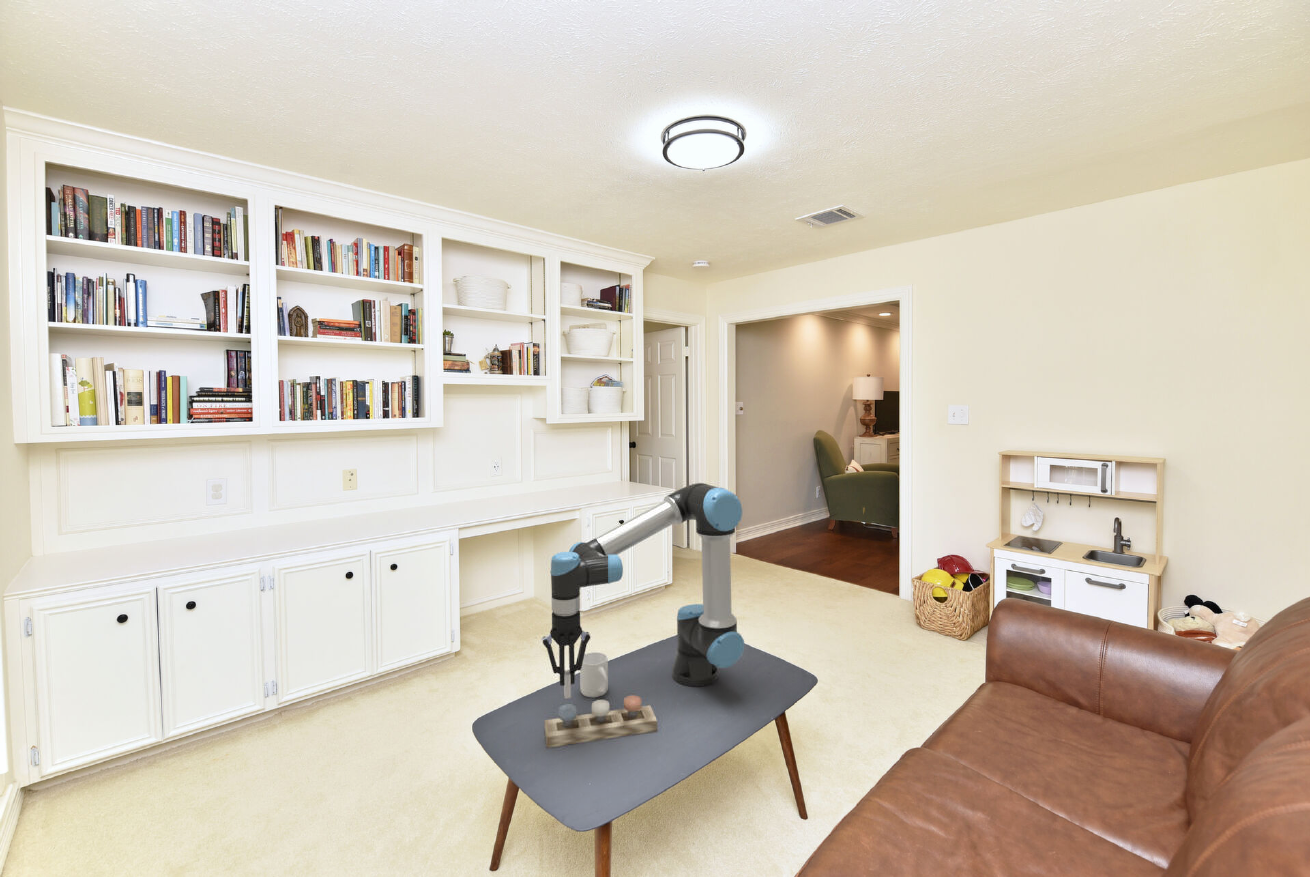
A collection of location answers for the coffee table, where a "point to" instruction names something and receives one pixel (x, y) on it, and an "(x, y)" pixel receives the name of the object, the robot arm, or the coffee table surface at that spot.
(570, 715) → the slate ball
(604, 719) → the cream rounded piece
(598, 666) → the mug
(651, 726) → the three-ball wooden rack
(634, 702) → the terracotta ball
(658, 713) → the coffee table surface
